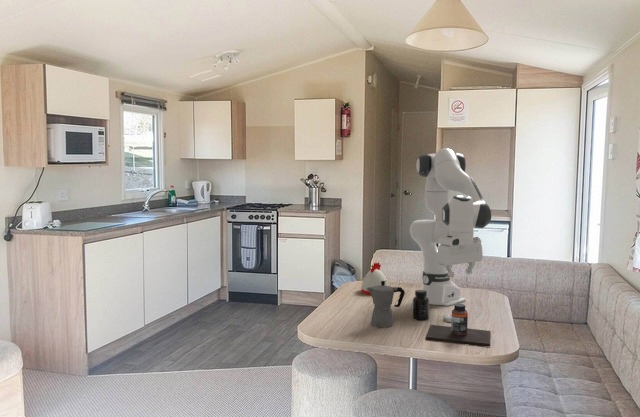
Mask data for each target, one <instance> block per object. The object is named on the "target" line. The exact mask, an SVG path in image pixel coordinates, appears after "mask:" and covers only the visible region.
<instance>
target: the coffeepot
mask: <svg viewBox="0 0 640 417" xmlns="http://www.w3.org/2000/svg"><path fill="white" fill-rule="evenodd" d="M381 284H382V285H378V286H374V287H369V288H367V290H368V291H369V292H370V294H371V295H370V296H371V298H372V303H373V305H374V308H373V311H372V315H371V321H370V324H371V325H372V326H374V327H378V328H390V327H393V325H394V324H395V323H394V318H393V317H394V316H393V310H392V304H393V300H394V294H395V293H398V292H399V293H400V294H399V297H398V300H397V303H396V304H394V307H395V308H400V307H401V304H402V302H403V299H404V296H405V294H406V292H405V290H404V289H403V287H401V286H398V287H397V286H390V285H388V286H386V285H385V281H381Z"/></svg>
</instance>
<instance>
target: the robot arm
mask: <svg viewBox="0 0 640 417" xmlns="http://www.w3.org/2000/svg"><path fill="white" fill-rule="evenodd" d="M415 164H416V165H415V168H416V172H417V174H418V175H419V176H420V177H424V178H425V179H426V180H425V186H424V187H425V191H424V192H425V193H424V197H425V198H424V206H425V208H426V210H427V211H428V212H430V213H432V214H433V215H434V216H435V218H436V219H418V220H414V221H413V222H412V223H411V224H410V228H409V234H410V236H411V237H410V238H412V240H413V241H415V242H416V244H417V245H418V246H419V247H420V250H421V252H422V256H423V257H422V258H423V270H422V276H421V277H422V278H421V279H422V286H421V290H425V291H427V296H426V297H427V298H428V299H429V305H436V306H447V307H448V306H452V305H455V304H458V303H460V304H461V303H463V302H466V298H465V297H463V296H461V289H460V287H459V286H458V285H457V284H455V283H454V282H453V281H452V280H451V278H454V277H455V271H453V270H452V268H453V265H461V264H468V266H467V268H465V273H466V274H468V275H471V274H473V269H474V267H475V264H476V262H481V261H482V260H483V258H484V257H483V255H484V254H483V247H482V246H483V245H482V240H481V238H480V237H479V236H474V234H475V233H474V232H475V231H474V228H476V229H483V228H485V227H486V226H488V225H489V224H490V223H491V220H492V211H491V208H490V205H488V203H487V202H486V201H485V200H484V197H483V195H482V193H481V192H480V190H479V188H478V186H477V184H476V181H475V180H474V179H473V177H472V176H470V175H468V174H467V173H466V170H467V169H466V168H467V160H466V157H465V156H464V154H462V153H458V152H455V151H453V149H450V148H448V147H447V148H441V149H439V150H437V151H436V153H435V152H434V153H424V154H420V155H419V156H418V157H417V161H416V163H415ZM450 191H454V192H458V193H460V194H457V195H456V194H455V195H453V196H452V197H451V200H450ZM437 244H439V246H437Z"/></svg>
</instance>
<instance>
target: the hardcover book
mask: <svg viewBox="0 0 640 417" xmlns="http://www.w3.org/2000/svg"><path fill="white" fill-rule="evenodd" d="M491 333H492V331H491V330H484V329H477V328H476V329H474V328H468V327H467V334H466V335H464V336H457V335H454V334H452V332H451V326H448V325H440V324H439V325H438V324H430V326H429V328H428V330H427V333H426V335H425V341H430V342H439V343H441V342H442V343H450V344H458V345H465V344H469V345H468V346H474V345H477V346H476V347H483V346H490V347H491Z"/></svg>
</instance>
